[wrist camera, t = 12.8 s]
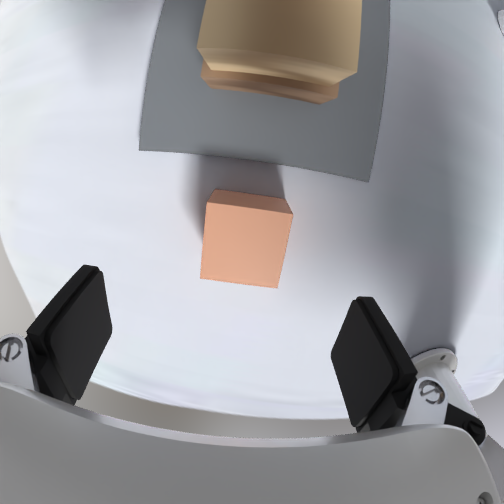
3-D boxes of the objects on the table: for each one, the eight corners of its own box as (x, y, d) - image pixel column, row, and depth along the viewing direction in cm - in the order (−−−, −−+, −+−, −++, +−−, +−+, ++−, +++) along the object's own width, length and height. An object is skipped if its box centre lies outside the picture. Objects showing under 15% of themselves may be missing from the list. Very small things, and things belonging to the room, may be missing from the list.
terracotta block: (285, 198, 20) (293, 214, 16) (272, 261, 22) (277, 288, 18) (215, 188, 19) (206, 202, 16) (208, 252, 21) (200, 278, 18)
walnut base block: (330, 17, 13) (348, -5, 9) (319, 104, 16) (337, 97, 12) (227, 1, 12) (222, -26, 9) (211, 88, 15) (200, 76, 12)
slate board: (384, -1, 12) (390, -5, 11) (363, 179, 19) (368, 182, 18) (180, -34, 11) (177, -39, 10) (143, 149, 18) (138, 150, 17)
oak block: (338, -2, 9) (362, -34, 6) (329, 86, 12) (357, 72, 8) (228, -19, 9) (221, -57, 5) (211, 70, 11) (196, 47, 8)
